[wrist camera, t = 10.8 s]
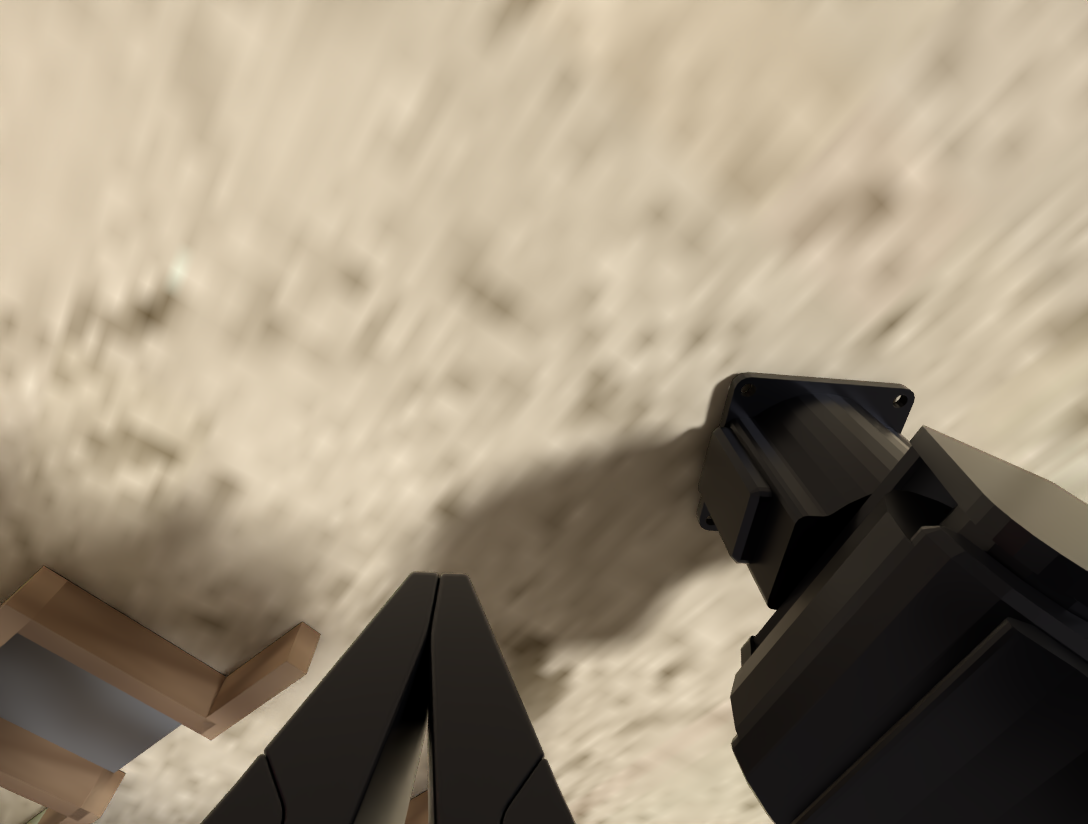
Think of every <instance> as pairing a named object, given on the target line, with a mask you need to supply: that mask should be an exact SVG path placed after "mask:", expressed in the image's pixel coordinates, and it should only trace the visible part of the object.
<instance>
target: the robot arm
mask: <svg viewBox="0 0 1088 824" xmlns="http://www.w3.org/2000/svg"><path fill="white" fill-rule="evenodd" d="M746 384H752V386H751V388H750V390H748V391H747V392H741V389H742V388H743V386H745V385H746ZM899 395H901V397H900V399H899V400H898V401H897V402H895V403H893V401H894V399H895V398H896V397H897V396H899ZM914 399H915V397H914V393H913V392H912V391H911V390H910V389H908V388H907V387H906V386H904V385H901V384H895V383H882V382H869V381H855V380H842V379H829V378H816V377H803V376H789V375H776V374H763V373H750V372H747V373H741V374H739V375H737V376H736V377H735V378H734V379H733V381H732V383H731V385H730V389H729V393H728V396H727V400H726V404H725V408H724V412H723V415H722V419H721V423H720V427H717V428H716V429H715V430H714V431H713V432H712V435H711V438H710V442H709V446H708V450H707V454H706V458H705V462H704V466H703V469H702V473H701V477H700V481H699V485H698V490H699V492H700V494H701V499H700V502H699V506H698V510H697V519H698V521H699V524H700V525H701V527H702V528H703V529H705V530H711V531H718V532H719V534H720V536H721V538H722V540H723V542H724V544H725V546H726V548H727V550H728V553H729V555H730V556H731V557H732V559H733V560H734V561H735V562H736V563H743V564H747V566H748V568H749V570H750V572H751V574H752V576H753V578H754V580H755V582H756V584H757V586H758V588H759V590H760V592H761V594H762V596H763V598H764V600H765V602H766V604H767V606H768V607H769V608H770V609H774V610H777V611H776V612H775V613H774V614H773V616H772V617H771V618H770V619H769V620H768V622H767V623H766V624H765V625H764V627H763V628H762V629H761V630H760V631H759V633H758V634H757V635H756V636H751V637H750V638H749V639H748V640H747V642H746V643H745V644H744V645H743V647H742V648H741V666H742V667H741V668H740V670H739V671H738V672H737V673H736V675H735V679H734V683H733V687H732V691H731V696H730V699H731V705H732V711H733V717H734V724H735V729H736V732H737V735H736V736H735V737H734V738H733V740H732V743H731V745H732V750H733V752H734V755H735V757H736V760H737V762H738V764H739V766H740V768H741V770H742V773H743V775H744V777H745V779H746V781H747V783H748V785H749V787H750V788H751V790H752V792H753V793H754V795H755V796H756V798H757V799H758V801H759V803H760V804H761V806H762V807H763V809H764V811H765V812H766V814H767V815H768V816H769V818H770V819H771V820H772V821H773V822H774V824H1088V504H1086V503H1085V502H1083V501H1082V500H1080V499H1078V498H1077V497H1075V496H1074V495H1072V494H1071V493H1069V492H1068V491H1066V490H1064V489H1063V488H1061V487H1060V486H1058V485H1056V484H1055V483H1053V482H1051V481H1049V480H1047V479H1045V478H1042V477H1040V476H1038V475H1036V474H1033V473H1031V472H1029V471H1026V470H1024V469H1022V468H1020V467H1017V466H1015V465H1013V464H1011V463H1008V462H1006V461H1004V460H1002V459H999V458H997V457H995V456H992V455H990V454H988V453H986V452H983V451H981V450H979V449H977V448H974V447H972V446H970V445H967V444H965V443H963V442H961V441H958V440H956V439H954V438H952V437H949V436H947V435H945V434H942V433H940V432H938V431H936V430H933V429H931V428H929V427H927V426H922V427H921V428H920V429H919V431H918V432H917V433H916V434H915V435H914V437H913V438H912V439H911V440H910V442H909V441H908V440H907V439H906V438H905V437H903V436H902V435H901V431H902V429H903V427H904V424H905V422H906V420H907V417H908V415H909V412H910V410H911V408H912V405H913V403H914ZM710 515H711V517H712V518H711V519H706V518H707V517H708V516H710ZM427 720H428V824H576V823H575V821H574V819H573V817H572V815H571V812H570V810H569V808H568V806H567V804H566V802H565V799H564V797H563V795H562V793H561V791H560V789H559V787H558V784H557V782H556V780H555V777H554V775H553V772H552V770H551V768H550V765H549V763H548V761H547V760H546V759H544V752H543V750H542V747H541V745H540V743H539V740H538V738H537V736H536V733H535V731H534V728H533V726H532V724H531V721H530V719H529V717H528V714H527V712H526V710H525V707H524V705H523V703H522V700H521V698H520V695H519V693H518V691H517V688H516V686H515V684H514V681H513V679H512V677H511V674H510V672H509V670H508V667H507V665H506V662H505V660H504V658H503V655H502V653H501V651H500V648H499V646H498V644H497V641H496V639H495V637H494V634H493V632H492V629H491V627H490V625H489V622H488V620H487V618H486V615H485V613H484V611H483V608H482V606H481V603H480V601H479V599H478V596H477V594H476V592H475V589H474V587H473V585H472V582H471V580H470V578H469V576H468V575H467V574H464V573H443V574H441V576H439V574H438V573H436V572H419V571H415V572H412V573H411V574H410V575H409V576H408V577H407V578H406V580H405V581H404V582H403V583H402V584H401V586H400V587H399V588H398V589H397V590H396V592H395V593H394V594H393V595H392V596H391V598H390V599H389V600H388V601H387V602H386V604H385V605H384V606H383V607H382V608H381V610H380V611H379V612H378V613H377V614H376V616H375V617H374V618H373V619H372V621H371V622H370V623H369V624H368V625H367V627H366V628H365V629H364V630H363V631H362V633H361V634H360V635H359V636H358V637H357V639H356V640H355V641H354V642H353V643H352V645H351V646H350V647H349V648H348V649H347V651H346V652H345V653H344V654H343V655H342V657H341V658H340V659H339V660H338V661H337V663H336V664H335V665H334V666H333V667H332V669H331V670H330V671H329V672H328V673H327V675H326V676H325V677H324V678H323V679H322V681H321V682H320V683H319V684H318V685H317V687H316V688H315V689H314V690H313V692H312V693H311V694H310V695H309V696H308V698H307V699H306V700H305V701H304V702H303V704H302V705H301V706H300V707H299V708H298V710H297V711H296V712H295V713H294V714H293V716H292V717H291V718H290V719H289V720H288V722H287V723H286V724H285V725H284V726H283V728H282V729H281V730H280V731H279V732H278V734H277V735H276V736H275V737H274V738H273V740H272V741H271V742H270V743H269V744H268V746H267V747H266V748H265V750H264V754H261V755H259V756H258V757H257V758H256V760H255V761H254V762H253V763H252V764H251V766H250V767H249V768H248V769H247V771H246V772H245V773H244V774H243V775H242V777H241V778H240V779H239V780H238V781H237V783H236V784H235V785H234V786H233V787H232V788H231V789H230V791H229V792H228V793H227V794H226V795H225V796H224V797H223V799H222V800H221V801H220V802H219V803H218V804H217V805H216V807H215V808H214V809H213V810H212V811H211V812H210V813H209V815H208V816H207V817H206V818H205V819H204V820H203V821H202V823H201V824H405V820H406V815H407V811H408V807H409V802H410V798H411V794H412V789H413V785H414V781H415V776H416V772H417V768H418V763H419V759H420V755H421V750H422V746H423V741H424V737H425V732H426V727H427Z"/></svg>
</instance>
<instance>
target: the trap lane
mask: <svg viewBox="0 0 1088 824" xmlns="http://www.w3.org/2000/svg"><path fill="white" fill-rule="evenodd" d="M320 635H321V634H319V633H318V632H316V631H315V630H314V629H312V628H311V627H309V626H308V625H306V624H305V623H303V622H301V623H300V624H298V625H297V626H296V627H294V628H293V629H292V630H290V631H289V632H288V633H286V634H285V635H283V636H282V637H281V638H279V639H278V640H277V641H275V642H274V643H272V644H271V645H270V646H268V647H267V648H266V649H264V650H263V651H262V652H260V653H259V654H257V655H256V656H255V657H253V658H252V659H251V660H249V661H248V662H246V663H245V664H244V665H242V666H241V667H240V668H238V669H237V670H236V671H234V672H233V673H231V674H230V675H229V676H227V677H225V676H224V675H222V674H220V673H219V672H217V671H216V670H214V669H212V668H211V667H209V666H207V665H206V664H204V663H202V662H201V661H199V660H197V659H196V658H194V657H193V656H191V655H189V654H188V653H186V652H184V651H183V650H181V649H179V648H178V647H176V646H175V645H173V644H171V643H170V642H168V641H166V640H165V639H163V638H161V637H160V636H158V635H156V634H155V633H153V632H152V631H150V630H148V629H147V628H145V627H143V626H142V625H140V624H138V623H137V622H135V621H133V620H132V619H130V618H129V617H127V616H125V615H124V614H122V613H120V612H119V611H117V610H115V609H114V608H112V607H110V606H109V605H107V604H106V603H104V602H102V601H101V600H99V599H97V598H96V597H94V596H92V595H91V594H89V593H87V592H86V591H84V590H83V589H81V588H79V587H78V586H76V585H74V584H73V583H71V582H69V581H68V580H66V579H64V578H63V577H61V576H60V575H58V574H56V573H55V572H53V571H51V570H50V569H48V568H46V567H45V566H43V567H42V568H41V569H40V570H39V571H38V572H37V573H36V574H34V575H33V576H32V577H31V578H30V579H29V580H28V581H27V582H26V583H25V584H24V585H23V586H21V587H20V588H19V589H18V590H17V591H16V592H15V593H14V594H13V595H12V596H11V597H9V598H8V599H7V600H6V601H5V602H4V603H3V604H2V605H1V606H0V787H3V788H5V789H7V790H9V791H12V792H14V793H16V794H18V795H21V796H23V797H25V798H27V799H29V800H32V801H34V802H36V803H38V804H41V805H43V806H45V807H47V809H45V810H44V811H42V812H41V813H40V814H38V815H37V816H36V817H34V818H33V819H32V820H30V821H29V822H27V823H26V824H91V823H93V822H94V821H96V820H97V819H99V818H100V817H101V816H102V814H103V812H104V810H105V809H106V807H107V805H108V804H109V802H110V800H111V798H112V797H113V795H114V793H115V791H116V790H117V788H118V786H119V784H120V783H121V781H122V779H123V777H124V776H125V773H123V772H121V771H119V769H120V768H122V767H123V766H125V765H126V764H127V763H129V762H130V761H132V760H133V759H134V758H136V757H137V756H138V755H140V754H141V753H143V752H144V751H145V750H147V749H148V748H150V747H151V746H152V745H154V744H155V743H157V742H158V741H159V740H161V739H162V738H163V737H165V736H166V735H168V734H169V733H170V732H172V731H173V730H175V729H176V728H177V727H179V726H180V725H181V724H183V725H184V726H186V727H188V728H190V729H192V730H194V731H195V732H197V733H199V734H201V735H203V736H204V737H206V738H208V739H210V740H212V739H214V738H215V737H217V736H218V735H219V734H221V733H222V732H224V731H225V730H227V729H228V728H230V727H231V726H232V725H234V724H235V723H237V722H238V721H240V720H241V719H242V718H244V717H245V716H247V715H248V714H250V713H251V712H253V711H254V710H255V709H257V708H258V707H260V706H261V705H263V704H264V703H265V702H267V701H268V700H270V699H271V698H273V697H274V696H276V695H277V694H278V693H280V692H281V691H283V690H284V689H286V688H287V687H289V686H290V685H291V684H293V683H294V682H296V681H297V680H299V679H300V678H301V677H303V676H304V675H306V674H307V671H308V668H309V666H310V663H311V660H312V657H313V654H314V652H315V649H316V646H317V643H318V641H319V638H320ZM405 824H428V790H427V791H425V792H424V793H422V794H420V795H419V796H417V797H415V798H413V799H412V800H410V802H409V807H408V811H407V815H406V820H405Z"/></svg>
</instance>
